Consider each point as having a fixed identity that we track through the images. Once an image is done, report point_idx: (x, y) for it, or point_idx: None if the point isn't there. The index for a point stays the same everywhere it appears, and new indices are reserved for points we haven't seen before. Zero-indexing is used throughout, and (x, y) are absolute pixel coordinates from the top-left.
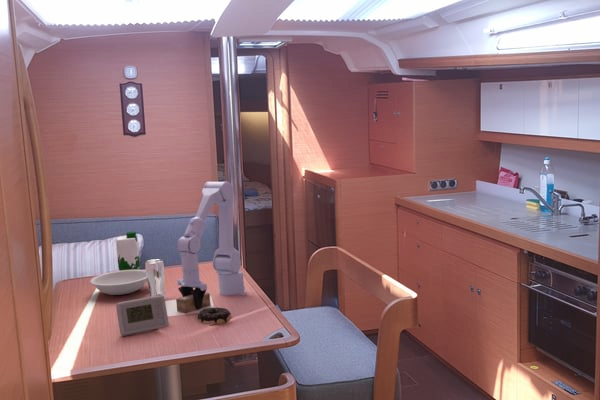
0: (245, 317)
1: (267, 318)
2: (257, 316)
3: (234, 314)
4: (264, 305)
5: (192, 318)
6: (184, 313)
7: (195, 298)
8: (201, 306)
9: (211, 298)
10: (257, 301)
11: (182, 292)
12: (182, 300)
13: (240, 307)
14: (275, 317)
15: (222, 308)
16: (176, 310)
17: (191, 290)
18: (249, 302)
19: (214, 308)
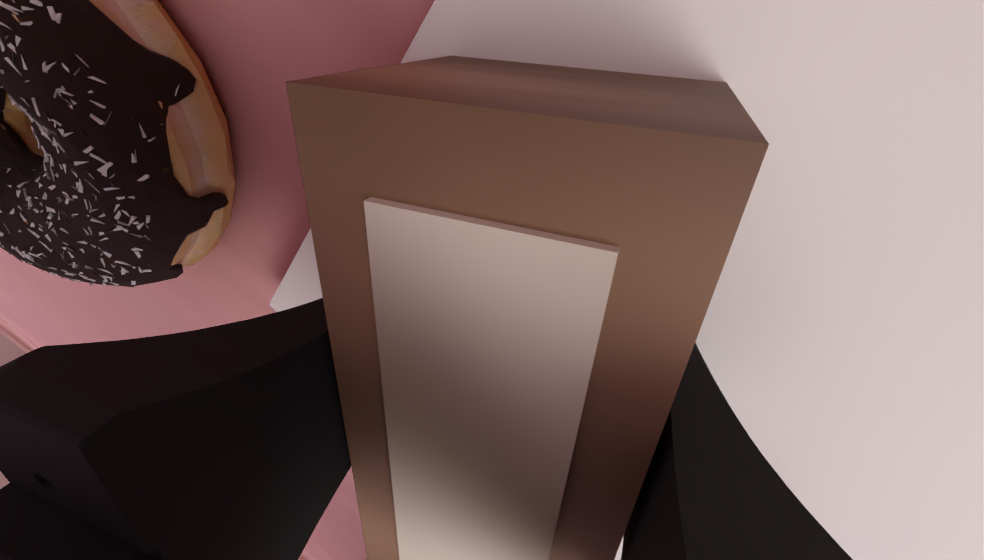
0: (76, 281)
1: (10, 304)
2: (64, 319)
3: (173, 314)
4: None
5: (322, 31)
6: (476, 46)
7: (252, 322)
8: None
9: None
10: (315, 548)
11: (722, 544)
12: (389, 100)
13: None
14: (12, 330)
15: (12, 241)
16: (784, 113)
17: (70, 456)
18: (334, 535)
19: (47, 210)
